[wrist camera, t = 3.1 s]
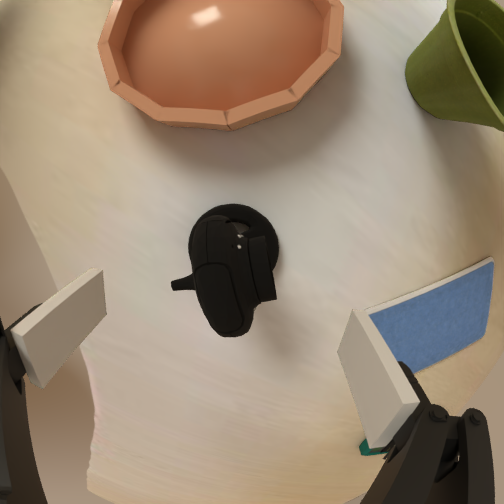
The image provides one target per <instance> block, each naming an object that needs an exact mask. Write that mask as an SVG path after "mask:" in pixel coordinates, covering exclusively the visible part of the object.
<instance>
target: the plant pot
mask: <svg viewBox="0 0 504 504" xmlns="http://www.w3.org/2000/svg"><path fill="white" fill-rule="evenodd" d="M405 77H406V81H407V85H408V87H409V90H410V92H411V94H412V95H413V97H414V99H415V100H416V101H417V103H418V104H419V105H420V106H421V107H422V108H423V109H424V110H426V111H427V112H429V113H430V114H432V115H433V116H434V117H436V118H439V119H446V120H454V121H461V122H468V123H474V124H480V125H485V126H490V127H494V128H496V129H498V130H500V131H503V132H504V8H503V7H501V6H500V5H499V4H498V3H497V2H496V1H494V0H447V8H446V10H445V11H444V12H443V14H442V15H441V18H440V21H439V22H438V24H437V25H436V26H435V27H434V28H433V30H432V31H431V32H430V33H429V34H428V35H427V36H426V38H425V39H424V40H423V41H422V42H421V43H420V45H419V46H418V47H417V48H416V49H415V50H414V52H413V53H412V54H411V55H410V56H409V58H408V60H407V64H406V69H405Z"/></svg>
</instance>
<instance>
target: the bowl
mask: <svg viewBox="0 0 504 504" xmlns="http://www.w3.org/2000/svg"><path fill="white" fill-rule="evenodd" d="M343 15H344V6H343V5H342V3H341V2H340V0H114V1H113V4H112V6H111V9H110V11H109V14H108V16H107V19H106V22H105V24H104V27H103V30H102V33H101V36H100V39H99V42H98V50H99V53H100V57H101V61H102V64H103V67H104V71H105V74H106V77H107V81H108V84H109V87H110V90H111V91H113V92H114V93H116V94H117V95H119V96H120V97H122V98H123V99H125V100H127V101H128V102H130V103H131V104H133V105H134V106H136V107H137V108H139V109H140V110H142V111H143V112H144V113H146V114H147V115H149V116H150V117H152V118H153V119H155V120H156V121H159V122H162V123H164V124H167V125H170V126H176V127H193V128H205V129H216V130H226V131H234V130H236V129H239V128H242V127H244V126H247V125H249V124H252V123H255V122H258V121H260V120H263V119H266V118H269V117H272V116H275V115H277V114H280V113H283V112H287V111H290V110H292V109H293V108H294V107H295V106H296V105H297V104H298V103H299V101H300V100H301V99H302V98H303V97H304V96H305V95H306V94H307V93H308V92H309V90H310V89H311V88H312V87H313V86H314V85H315V84H316V83H317V82H318V81H319V80H320V79H321V78H322V76H323V75H324V74H325V73H326V72H327V71H328V70H329V69H330V68H331V66H332V65H333V64H334V63H335V61H336V60H337V59H338V58H339V57H340V55H341V43H342V30H343Z"/></svg>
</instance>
